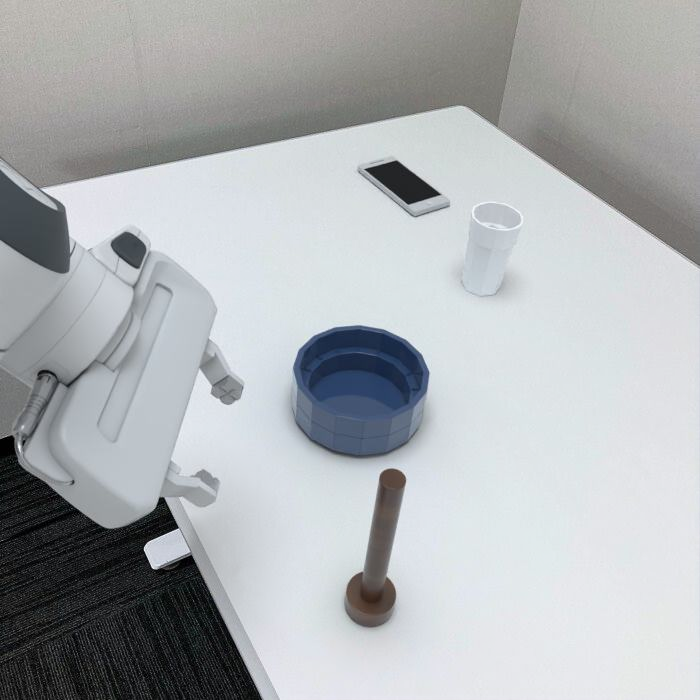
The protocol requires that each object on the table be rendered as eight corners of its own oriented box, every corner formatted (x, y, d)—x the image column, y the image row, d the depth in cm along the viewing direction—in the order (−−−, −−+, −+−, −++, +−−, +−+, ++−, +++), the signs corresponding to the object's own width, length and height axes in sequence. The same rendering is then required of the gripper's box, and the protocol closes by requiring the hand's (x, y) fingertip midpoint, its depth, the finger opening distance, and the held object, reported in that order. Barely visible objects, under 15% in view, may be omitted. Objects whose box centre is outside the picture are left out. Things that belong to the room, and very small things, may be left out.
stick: (363, 636, 67) (387, 513, 55) (334, 597, 69) (351, 470, 57) (403, 610, 69) (434, 486, 57) (374, 573, 71) (398, 447, 59)
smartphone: (414, 216, 116) (415, 211, 116) (356, 169, 125) (357, 164, 125) (450, 205, 120) (451, 200, 119) (391, 160, 129) (392, 155, 128)
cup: (481, 264, 109) (497, 196, 101) (514, 289, 105) (534, 221, 98) (446, 278, 106) (460, 210, 98) (479, 305, 102) (496, 236, 95)
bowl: (340, 479, 79) (345, 440, 75) (268, 392, 87) (268, 353, 83) (447, 424, 86) (456, 386, 82) (370, 348, 94) (375, 310, 90)
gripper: (32, 427, 39) (228, 554, 46) (141, 211, 55) (276, 330, 61) (-33, 472, 42) (160, 586, 49) (87, 256, 58) (222, 365, 64)
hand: (225, 442), depth 55 cm, fingers open, 8 cm apart
